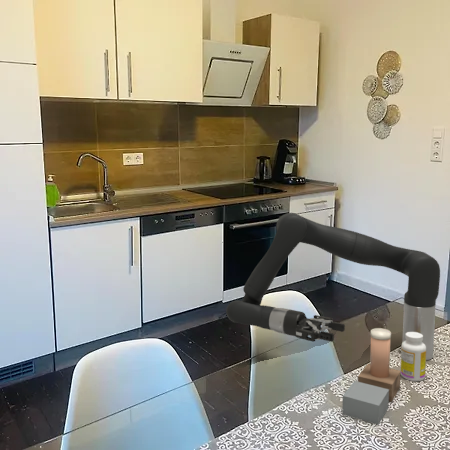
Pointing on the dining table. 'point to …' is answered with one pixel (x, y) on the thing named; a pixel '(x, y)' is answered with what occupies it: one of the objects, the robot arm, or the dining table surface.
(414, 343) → the supplement bottle
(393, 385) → the stand
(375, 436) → the dining table surface
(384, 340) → the canister
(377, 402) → the stand
